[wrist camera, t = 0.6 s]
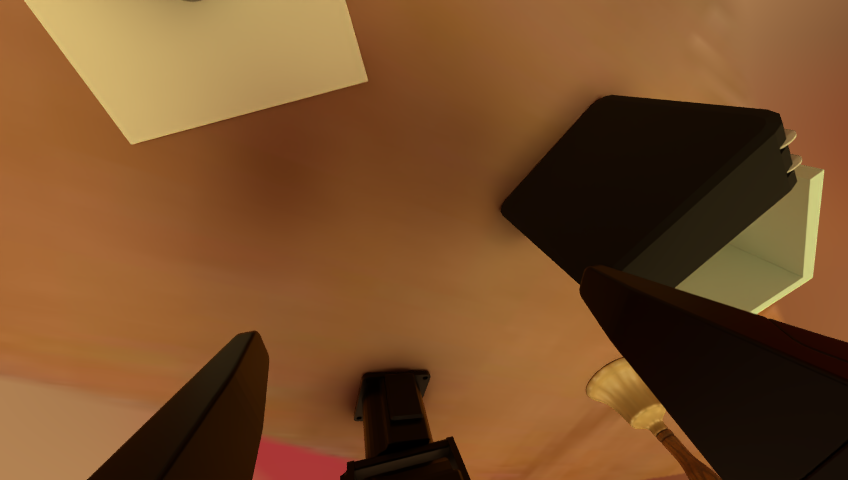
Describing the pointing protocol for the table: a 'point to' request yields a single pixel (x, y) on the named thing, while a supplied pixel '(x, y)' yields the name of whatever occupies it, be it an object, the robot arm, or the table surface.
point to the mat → (202, 56)
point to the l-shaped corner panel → (766, 252)
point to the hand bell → (642, 411)
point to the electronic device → (653, 185)
